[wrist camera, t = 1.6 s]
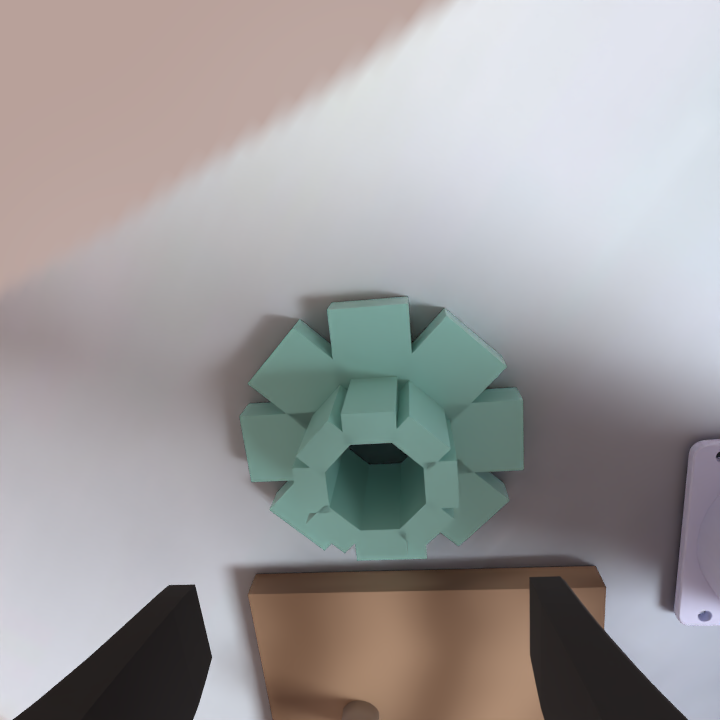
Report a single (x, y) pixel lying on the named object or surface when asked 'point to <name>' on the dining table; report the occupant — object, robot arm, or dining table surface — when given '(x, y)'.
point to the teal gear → (383, 430)
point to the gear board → (404, 642)
